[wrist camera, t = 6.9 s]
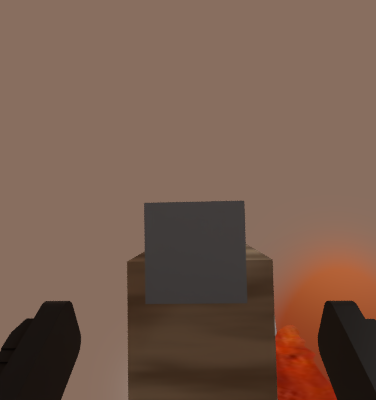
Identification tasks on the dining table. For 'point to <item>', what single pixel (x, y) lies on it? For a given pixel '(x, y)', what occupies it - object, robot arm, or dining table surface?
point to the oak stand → (203, 342)
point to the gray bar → (195, 252)
